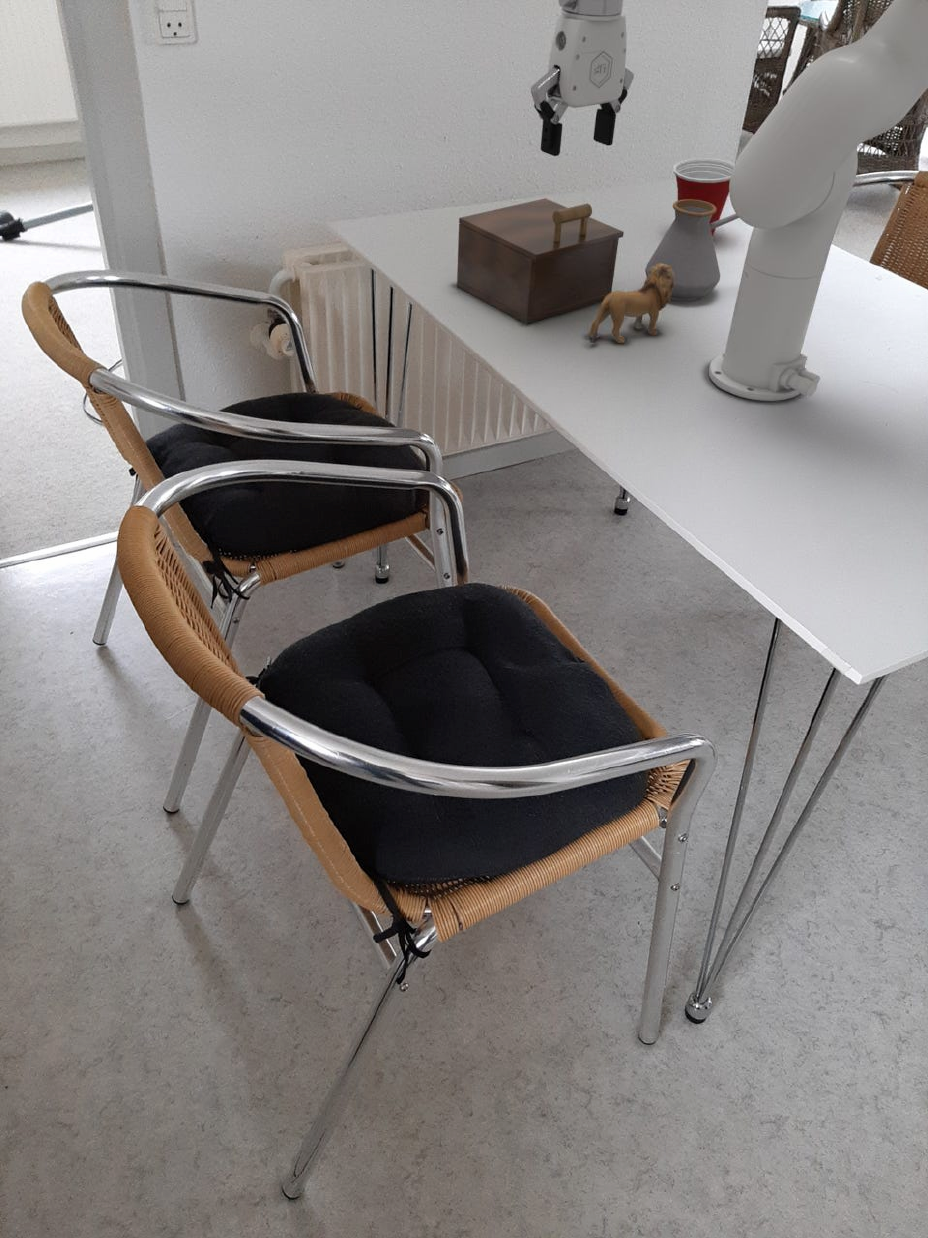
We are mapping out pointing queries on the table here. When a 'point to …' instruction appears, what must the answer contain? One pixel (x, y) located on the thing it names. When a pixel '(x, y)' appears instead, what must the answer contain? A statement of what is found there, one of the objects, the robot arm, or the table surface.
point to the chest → (534, 276)
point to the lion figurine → (637, 302)
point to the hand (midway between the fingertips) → (576, 147)
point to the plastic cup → (704, 182)
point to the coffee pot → (690, 249)
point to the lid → (542, 228)
